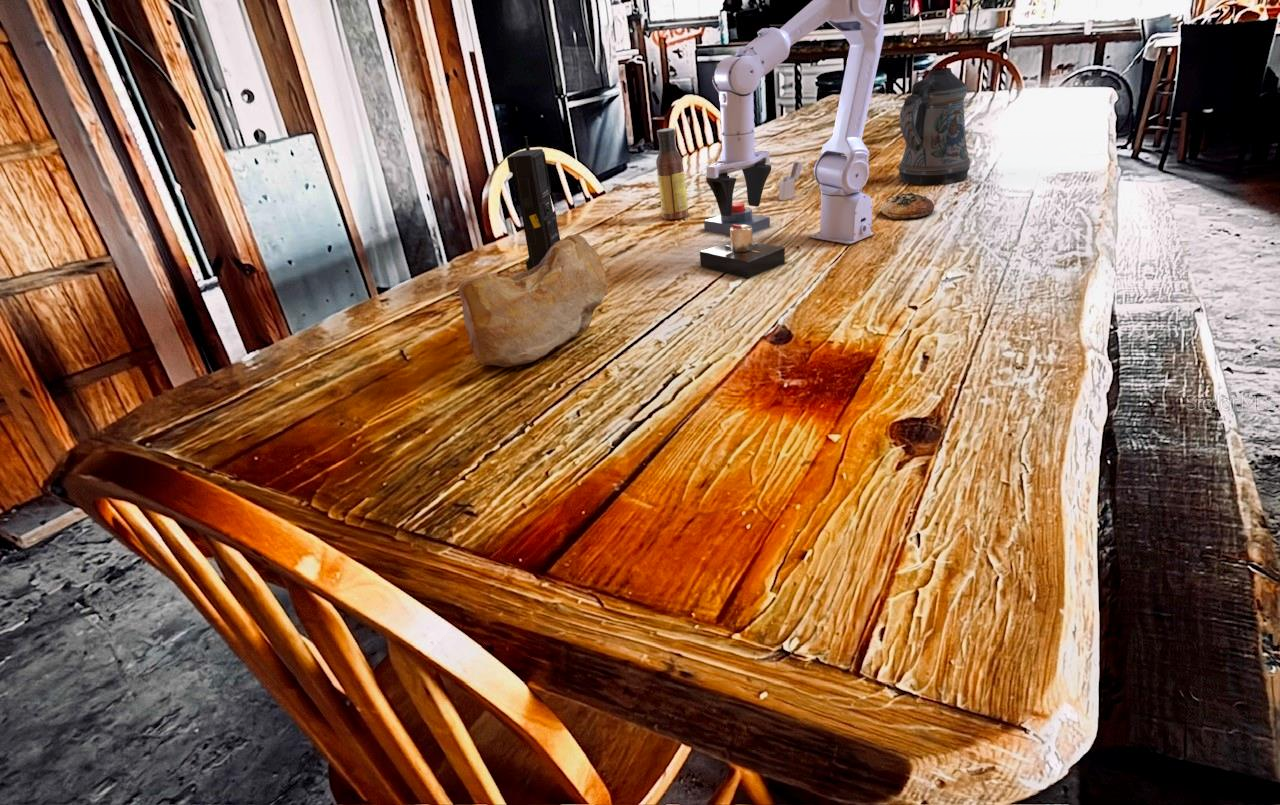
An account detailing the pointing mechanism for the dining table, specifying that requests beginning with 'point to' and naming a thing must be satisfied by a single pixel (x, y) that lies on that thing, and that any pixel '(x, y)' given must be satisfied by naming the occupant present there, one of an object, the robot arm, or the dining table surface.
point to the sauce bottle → (671, 177)
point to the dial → (741, 238)
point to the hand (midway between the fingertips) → (740, 210)
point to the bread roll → (907, 206)
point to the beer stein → (934, 131)
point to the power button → (738, 207)
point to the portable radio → (534, 202)
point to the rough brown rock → (534, 305)
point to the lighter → (789, 182)
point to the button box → (737, 222)
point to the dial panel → (742, 259)
